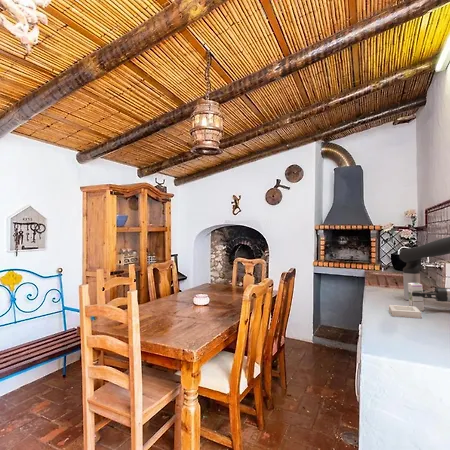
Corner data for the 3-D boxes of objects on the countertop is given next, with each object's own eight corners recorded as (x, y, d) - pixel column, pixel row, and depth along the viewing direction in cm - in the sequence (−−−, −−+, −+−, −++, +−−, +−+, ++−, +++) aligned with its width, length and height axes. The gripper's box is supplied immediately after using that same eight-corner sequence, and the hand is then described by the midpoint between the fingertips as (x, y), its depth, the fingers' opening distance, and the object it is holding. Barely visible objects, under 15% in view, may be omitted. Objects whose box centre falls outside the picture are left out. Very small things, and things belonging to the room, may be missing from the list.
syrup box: (424, 310, 165) (423, 284, 166) (412, 310, 166) (411, 284, 167) (420, 308, 171) (418, 282, 171) (408, 308, 172) (407, 282, 173)
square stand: (388, 310, 167) (388, 305, 168) (416, 312, 163) (415, 306, 163) (392, 316, 155) (391, 310, 156) (421, 318, 151) (421, 312, 151)
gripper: (442, 285, 170) (408, 284, 177) (450, 290, 157) (413, 288, 163) (442, 299, 170) (408, 297, 176) (450, 304, 157) (413, 302, 163)
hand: (411, 293), depth 170 cm, fingers closed on syrup box, 6 cm apart
